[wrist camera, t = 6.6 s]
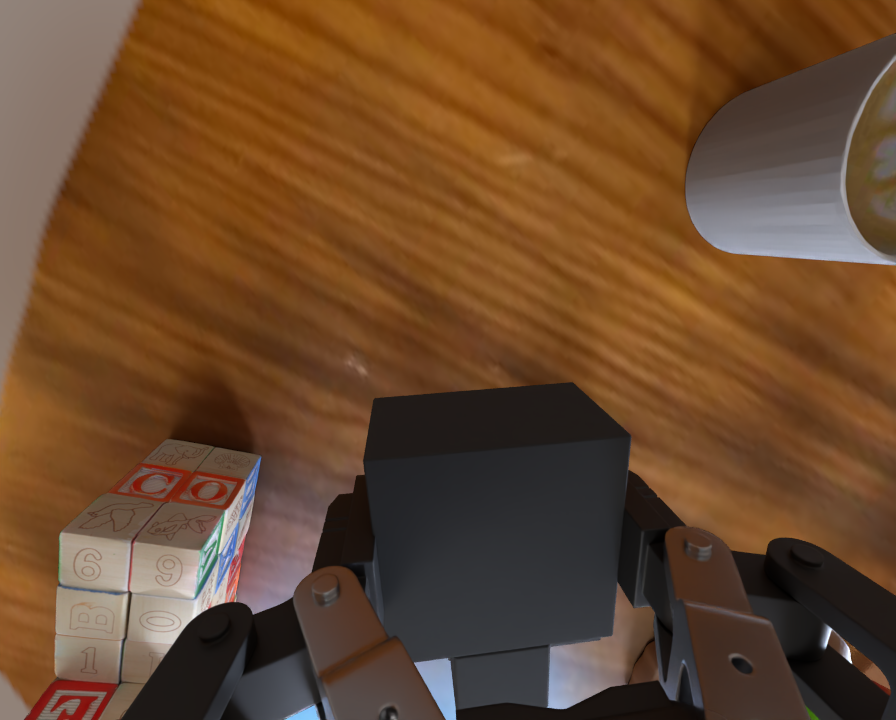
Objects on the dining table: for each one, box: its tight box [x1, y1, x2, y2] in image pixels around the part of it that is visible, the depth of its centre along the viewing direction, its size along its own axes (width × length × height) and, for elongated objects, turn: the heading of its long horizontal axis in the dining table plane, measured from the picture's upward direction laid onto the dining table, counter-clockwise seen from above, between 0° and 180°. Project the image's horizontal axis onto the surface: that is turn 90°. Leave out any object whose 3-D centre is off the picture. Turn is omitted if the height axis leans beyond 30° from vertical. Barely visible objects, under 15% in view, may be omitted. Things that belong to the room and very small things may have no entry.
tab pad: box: [363, 382, 631, 710], centre depth 12 cm, size 6×8×4 cm
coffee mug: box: [685, 33, 896, 265], centre depth 23 cm, size 13×10×10 cm
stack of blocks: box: [24, 439, 261, 720], centre depth 25 cm, size 21×6×12 cm, turn 164°
